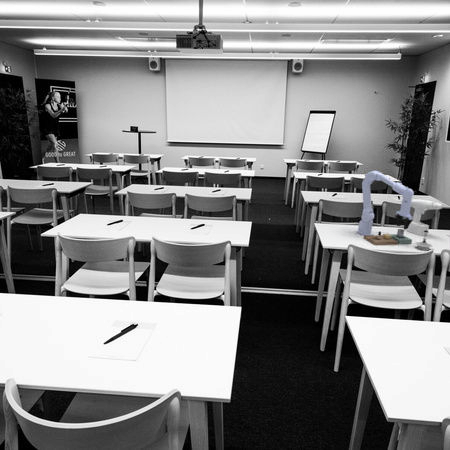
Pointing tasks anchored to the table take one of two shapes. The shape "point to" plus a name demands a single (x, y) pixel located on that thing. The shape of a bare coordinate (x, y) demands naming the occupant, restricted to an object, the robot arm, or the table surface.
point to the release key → (387, 236)
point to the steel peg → (400, 233)
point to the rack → (401, 239)
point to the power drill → (419, 209)
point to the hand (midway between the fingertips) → (402, 227)
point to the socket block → (380, 240)
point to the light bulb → (423, 243)
